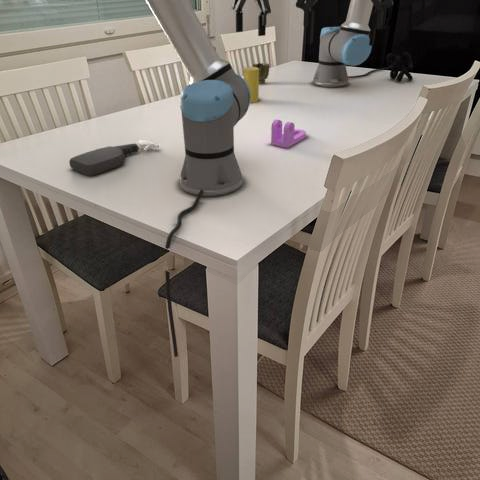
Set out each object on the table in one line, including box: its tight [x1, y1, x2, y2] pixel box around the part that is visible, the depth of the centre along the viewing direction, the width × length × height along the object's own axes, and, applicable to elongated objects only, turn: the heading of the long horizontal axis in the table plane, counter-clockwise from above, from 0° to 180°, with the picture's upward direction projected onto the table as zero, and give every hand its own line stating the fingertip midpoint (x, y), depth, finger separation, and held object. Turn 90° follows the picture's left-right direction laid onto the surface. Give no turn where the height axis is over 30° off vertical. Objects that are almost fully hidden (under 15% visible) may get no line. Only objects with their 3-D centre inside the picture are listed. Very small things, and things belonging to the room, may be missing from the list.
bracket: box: [270, 119, 307, 149], centre depth 134 cm, size 13×6×7 cm, turn 143°
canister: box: [243, 66, 260, 104], centre depth 172 cm, size 6×6×12 cm
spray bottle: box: [68, 139, 160, 177], centre depth 124 cm, size 3×11×24 cm
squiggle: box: [385, 51, 414, 83], centre depth 198 cm, size 11×10×15 cm
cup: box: [252, 62, 271, 85], centre depth 198 cm, size 8×7×8 cm
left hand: (339, 44), depth 99 cm, fingers open, 13 cm apart
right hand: (250, 33), depth 163 cm, fingers open, 13 cm apart
